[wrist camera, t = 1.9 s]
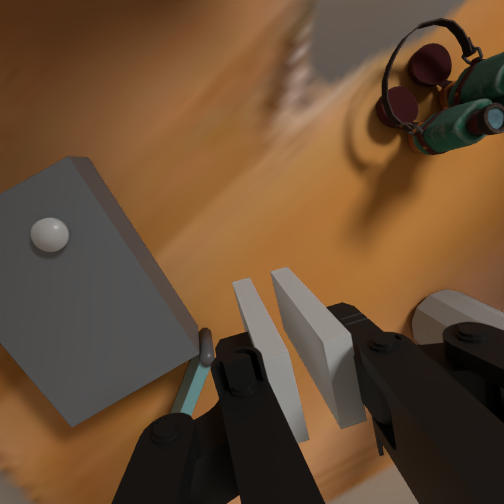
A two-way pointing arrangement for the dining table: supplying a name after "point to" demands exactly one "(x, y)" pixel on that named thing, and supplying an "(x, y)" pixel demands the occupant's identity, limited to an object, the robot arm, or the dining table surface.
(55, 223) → the block
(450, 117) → the binoculars
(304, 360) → the robot arm
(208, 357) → the side door
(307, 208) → the dining table surface
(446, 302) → the water bottle
